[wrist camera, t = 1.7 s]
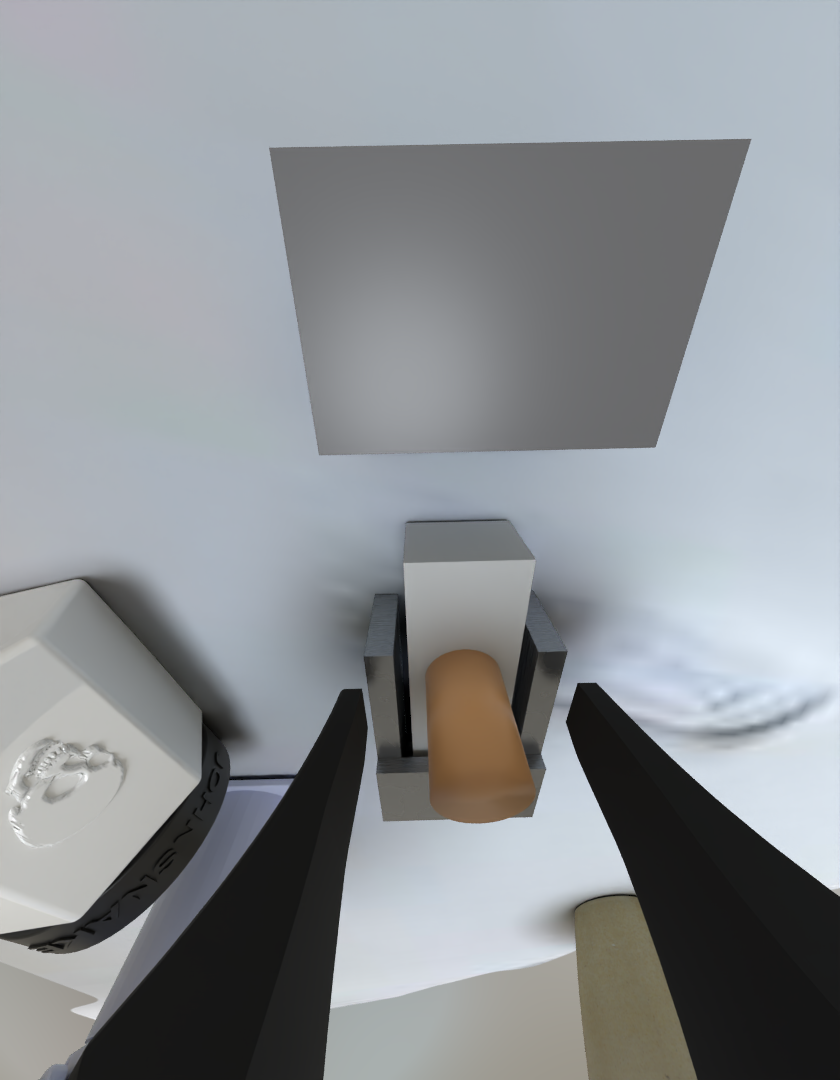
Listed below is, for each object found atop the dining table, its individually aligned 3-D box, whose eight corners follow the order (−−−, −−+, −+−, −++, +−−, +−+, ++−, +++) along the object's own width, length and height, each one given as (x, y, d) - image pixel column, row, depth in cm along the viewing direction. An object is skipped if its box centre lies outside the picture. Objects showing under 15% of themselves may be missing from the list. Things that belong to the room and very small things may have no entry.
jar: (121, 588, 11) (270, 761, 17) (51, 566, 15) (191, 712, 21) (-574, 978, 5) (57, 1042, 10) (-376, 759, 9) (1, 894, 14)
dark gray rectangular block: (565, 423, 11) (655, 447, 7) (355, 427, 11) (319, 455, 7) (595, 251, 9) (751, 138, 5) (336, 257, 9) (268, 146, 5)
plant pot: (545, 882, 29) (673, 1375, 14) (708, 875, 29) (1002, 1366, 14) (528, 935, 35) (605, 1306, 21) (661, 929, 35) (828, 1301, 21)
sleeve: (506, 740, 19) (529, 827, 15) (390, 743, 19) (385, 831, 15) (533, 590, 14) (575, 665, 10) (375, 594, 14) (360, 670, 10)
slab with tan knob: (484, 729, 18) (520, 906, 12) (414, 730, 18) (414, 909, 12) (509, 520, 12) (603, 659, 6) (405, 523, 12) (397, 664, 6)
